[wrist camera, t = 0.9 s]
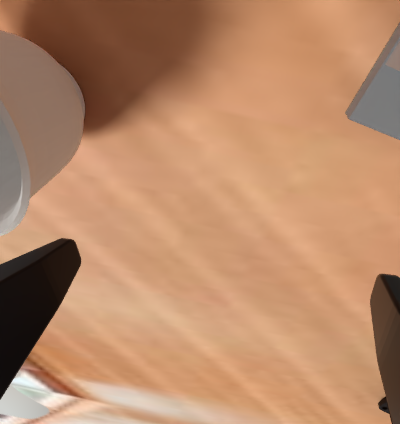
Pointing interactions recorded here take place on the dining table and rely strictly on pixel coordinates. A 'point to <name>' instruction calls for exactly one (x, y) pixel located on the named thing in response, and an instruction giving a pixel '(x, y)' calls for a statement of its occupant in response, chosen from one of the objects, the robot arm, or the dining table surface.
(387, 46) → the board
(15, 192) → the teacup
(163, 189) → the dining table surface
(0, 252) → the dining table surface
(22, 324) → the robot arm
